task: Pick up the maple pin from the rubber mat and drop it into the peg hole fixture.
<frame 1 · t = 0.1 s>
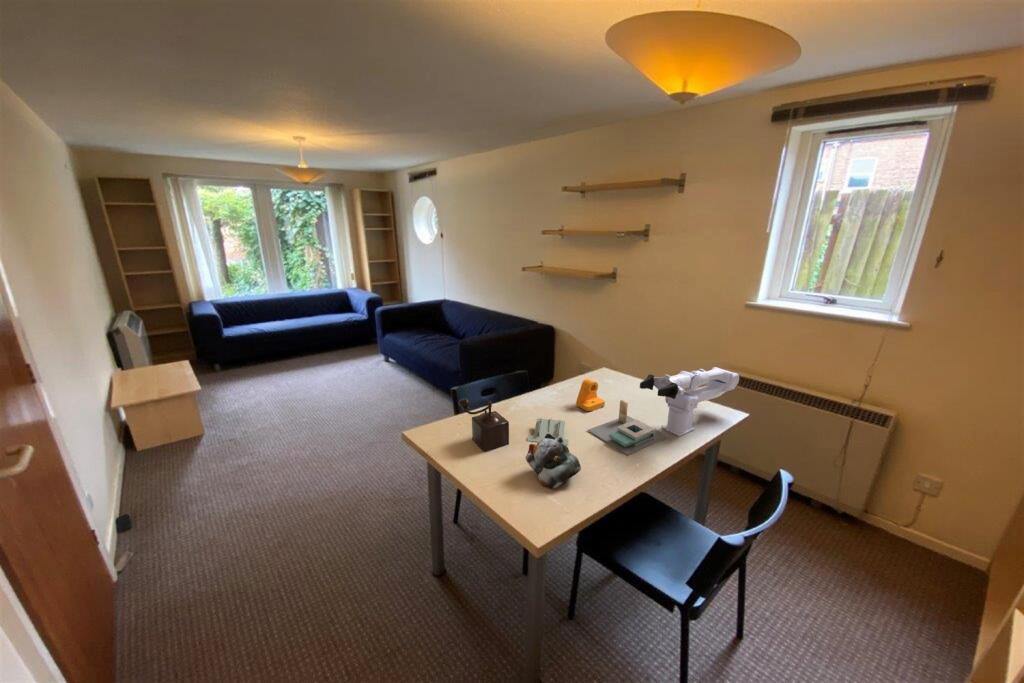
hand: (649, 389, 139), 22 cm above the table, tool horizontal, fingers open, 7 cm apart
metal bracket: (549, 436, 151), on the table
lucky cat figurine: (552, 477, 127), on the table
brown coffee grinder: (484, 444, 145), on the table
peg hole fixture: (633, 439, 148), resting on rubber mat
maple pin: (622, 422, 159), point 1 cm above the table, touching rubber mat
rubber mat: (627, 434, 151), on the table
bracket: (590, 407, 174), on the table
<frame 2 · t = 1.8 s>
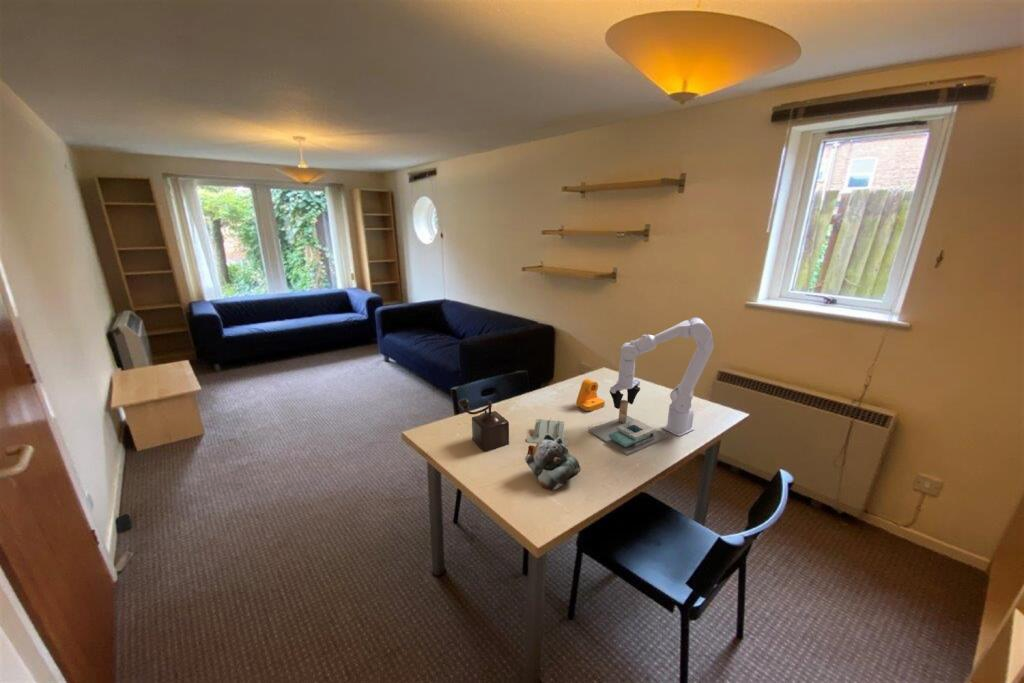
hand: (623, 405, 157), 8 cm above the table, tool pointing down, fingers open, 7 cm apart
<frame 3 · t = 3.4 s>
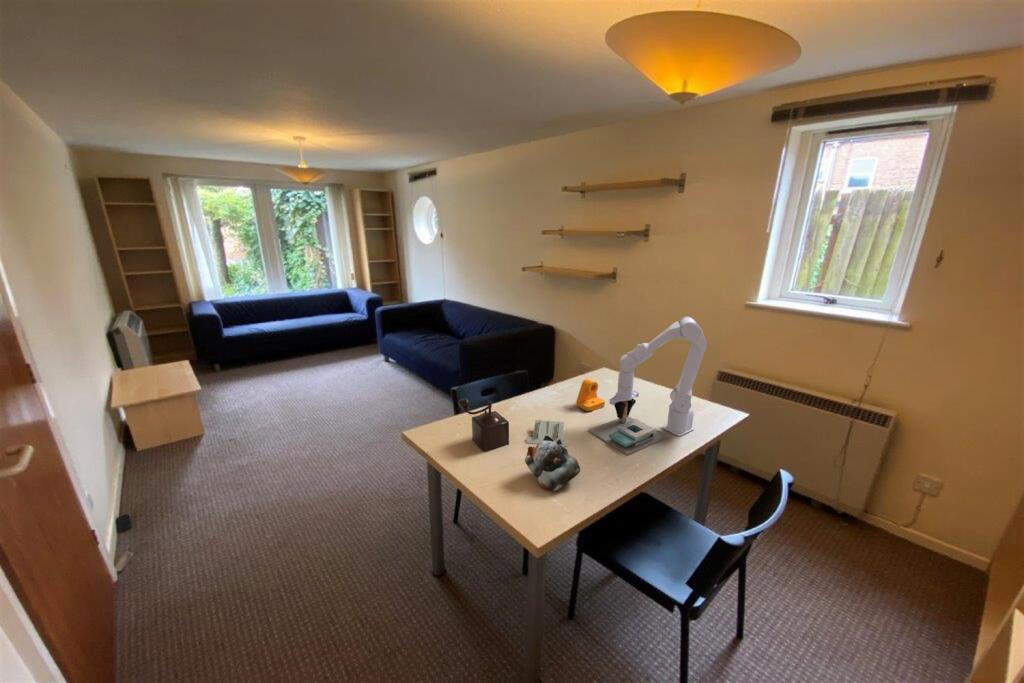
hand: (622, 416, 159), 3 cm above the table, tool pointing down, fingers closed on maple pin, 3 cm apart
maple pin: (622, 422, 159), point 1 cm above the table, touching gripper, rubber mat
when the fingers open (5 cm above the table, at t = 7.3 s): maple pin drops 2 cm, resting on rubber mat.
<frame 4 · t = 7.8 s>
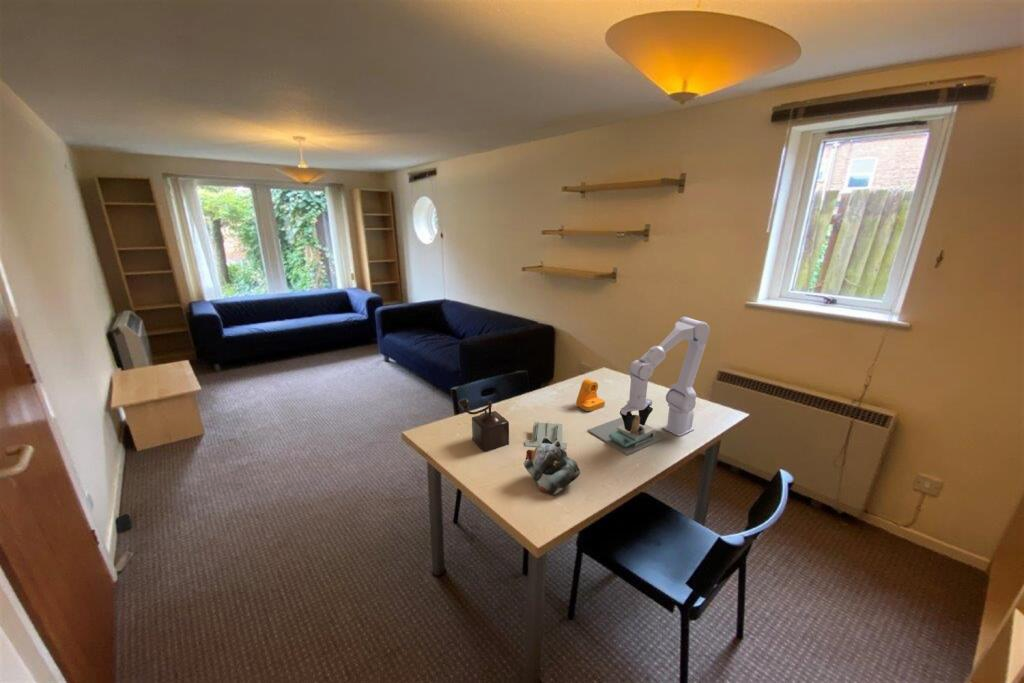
hand: (634, 427, 146), 5 cm above the table, tool pointing down, fingers open, 7 cm apart
metal bracket: (546, 440, 149), on the table
lucky cat figurine: (551, 482, 124), on the table
maple pin: (633, 437, 148), point 1 cm above the table, touching rubber mat
everything else where it was.
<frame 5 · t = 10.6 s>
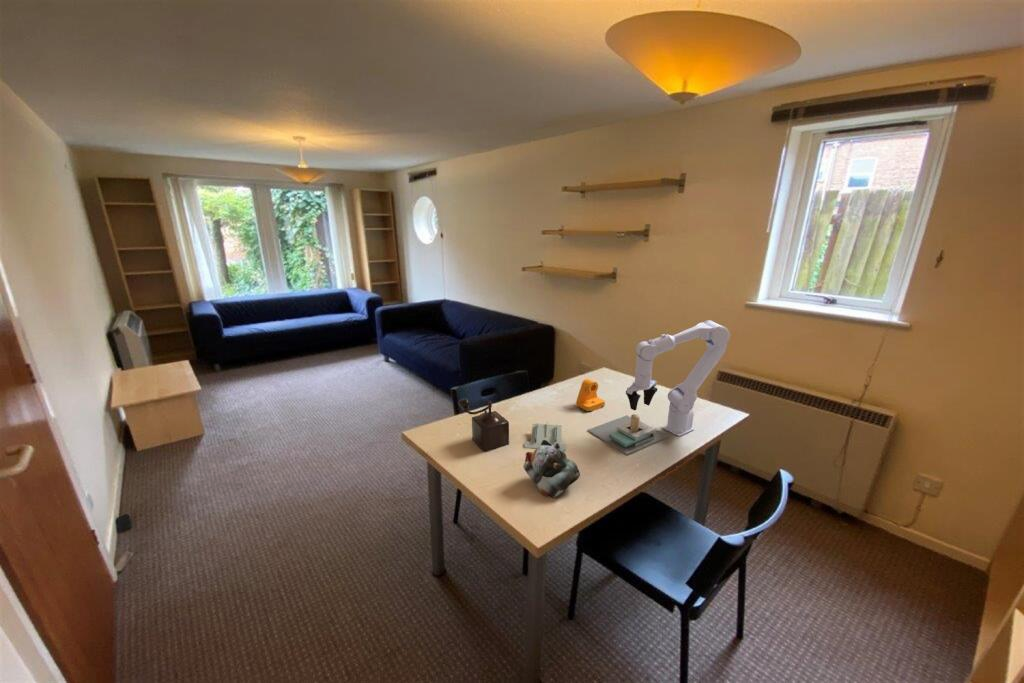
hand: (640, 406, 152), 10 cm above the table, tool pointing down, fingers open, 7 cm apart
metal bracket: (546, 441, 148), on the table
lucky cat figurine: (551, 484, 123), on the table
everything else where it was.
at the end: maple pin 0.1 cm off-centre on the peg hole fixture, point 0.6 cm above the peg hole fixture's base; maple pin tilted 0°; the gripper is holding nothing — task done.
